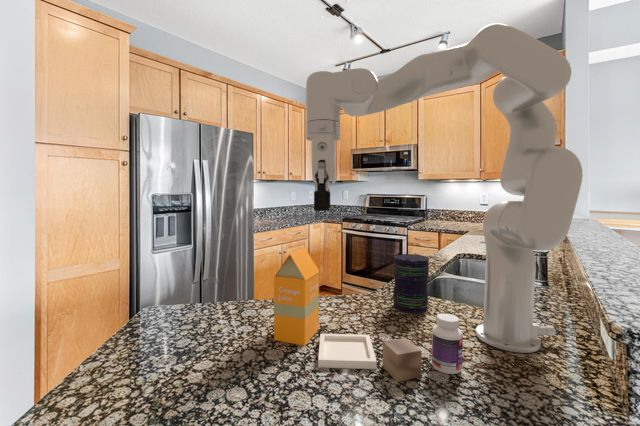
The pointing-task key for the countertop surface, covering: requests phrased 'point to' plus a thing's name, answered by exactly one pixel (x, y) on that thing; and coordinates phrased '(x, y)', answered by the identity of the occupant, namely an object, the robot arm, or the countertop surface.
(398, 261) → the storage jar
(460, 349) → the pill bottle
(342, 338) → the tray
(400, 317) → the countertop surface
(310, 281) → the orange juice
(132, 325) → the countertop surface
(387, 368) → the walnut block
